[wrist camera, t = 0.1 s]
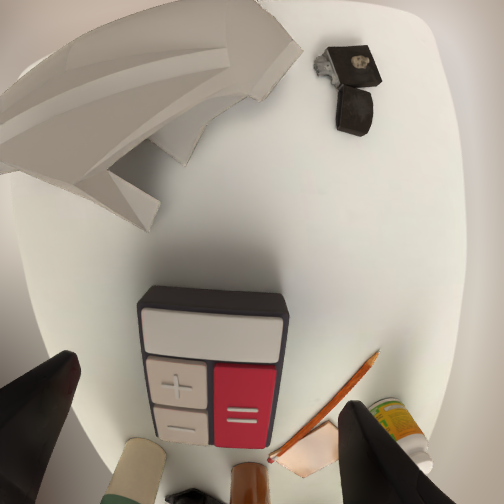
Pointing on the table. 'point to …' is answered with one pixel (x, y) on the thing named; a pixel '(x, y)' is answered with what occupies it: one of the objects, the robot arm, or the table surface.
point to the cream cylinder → (136, 474)
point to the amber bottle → (249, 484)
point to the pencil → (327, 408)
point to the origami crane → (138, 95)
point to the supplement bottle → (403, 431)
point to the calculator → (213, 364)
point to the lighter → (351, 85)
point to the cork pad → (311, 451)
